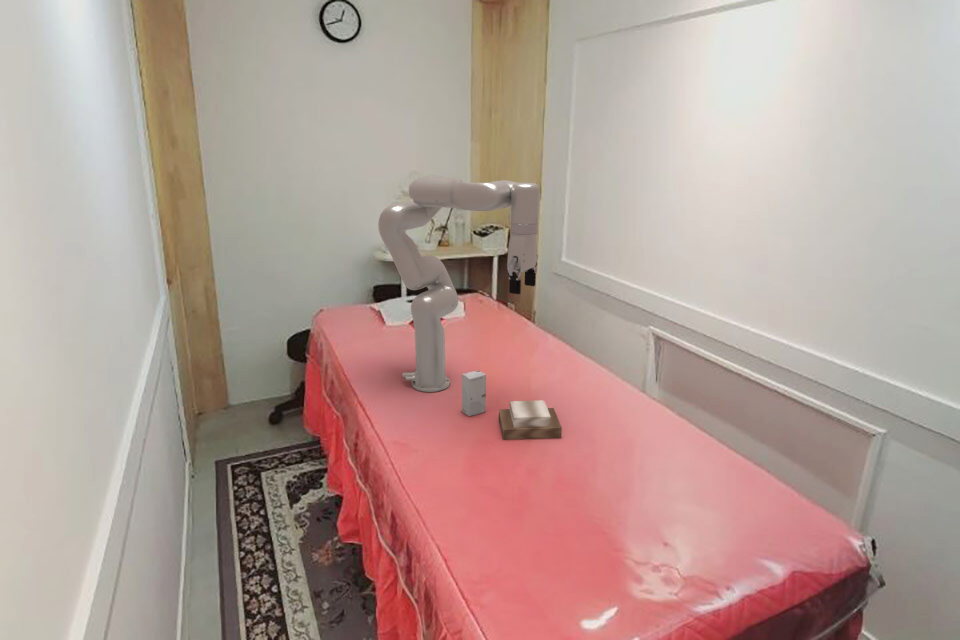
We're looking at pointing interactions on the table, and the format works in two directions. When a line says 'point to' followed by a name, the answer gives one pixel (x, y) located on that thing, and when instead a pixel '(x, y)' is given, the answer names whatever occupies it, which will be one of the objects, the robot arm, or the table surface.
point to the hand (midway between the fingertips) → (522, 289)
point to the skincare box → (473, 393)
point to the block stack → (529, 421)
